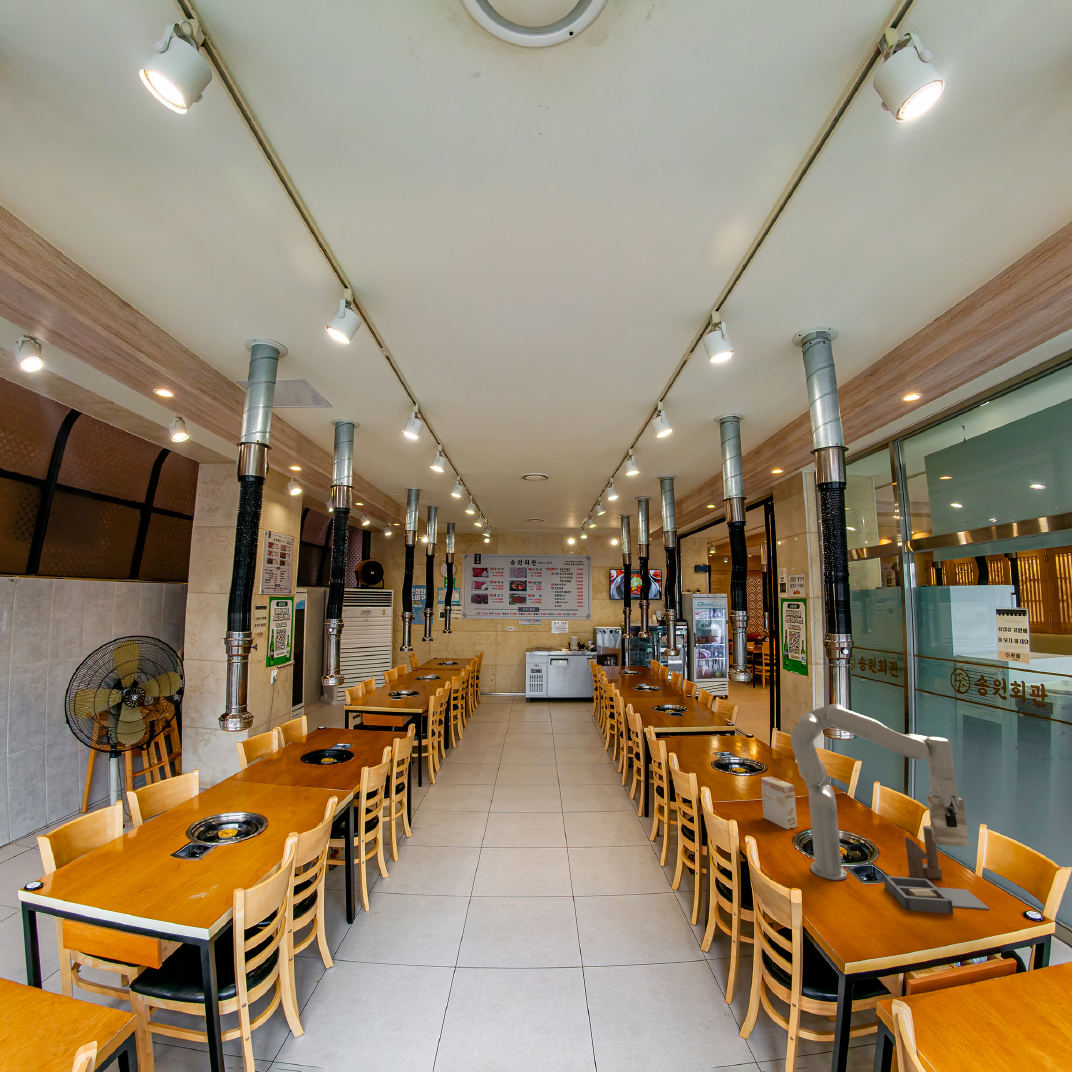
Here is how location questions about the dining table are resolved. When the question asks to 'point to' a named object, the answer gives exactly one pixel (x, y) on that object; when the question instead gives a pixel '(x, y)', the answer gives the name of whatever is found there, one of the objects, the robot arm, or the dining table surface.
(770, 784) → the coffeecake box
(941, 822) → the plywood sheet
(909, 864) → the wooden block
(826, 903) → the dining table surface
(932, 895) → the offcut upper
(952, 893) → the mat
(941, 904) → the tray
